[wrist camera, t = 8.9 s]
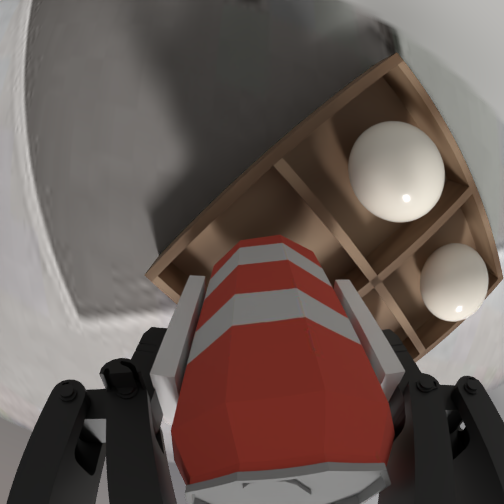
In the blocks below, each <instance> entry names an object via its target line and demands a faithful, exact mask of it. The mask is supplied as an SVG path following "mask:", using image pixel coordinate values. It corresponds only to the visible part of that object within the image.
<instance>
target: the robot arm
mask: <svg viewBox="0 0 504 504" xmlns="http://www.w3.org/2000/svg"><path fill="white" fill-rule="evenodd" d="M334 291H335V293H336V295H337V297H338V299H339V301H340V303H341V305H342V307H343V309H344V310H345V312H346V314H347V316H348V318H349V320H350V322H351V324H352V326H353V328H354V330H355V332H356V334H357V336H358V338H359V340H360V343H361V345H362V347H363V349H364V351H365V353H366V355H367V357H368V359H369V361H370V363H371V366H372V368H373V370H374V372H375V374H376V376H377V378H378V381H379V383H380V385H381V387H382V390H383V392H384V394H385V396H386V399H387V401H388V403H389V407H390V411H391V416H392V421H393V426H394V431H395V436H394V440H393V444H392V448H391V452H390V456H389V459H388V463H387V466H386V469H387V472H388V475H389V478H390V482H391V485H390V486H388V487H387V488H385V489H384V490H383V491H381V492H380V493H379V499H378V504H504V422H503V420H502V419H501V417H500V415H499V413H498V411H497V409H496V408H495V406H494V404H493V402H492V401H491V399H490V397H489V395H488V394H487V392H486V390H485V389H484V387H483V385H482V384H481V383H480V382H479V380H477V379H476V378H474V377H471V376H463V377H461V378H460V379H459V380H458V382H457V383H456V385H455V386H454V385H439V382H438V381H437V380H436V379H435V378H434V377H432V376H430V375H429V374H424V373H421V372H420V370H419V368H418V367H417V365H416V363H415V362H414V360H413V358H412V357H411V355H410V354H409V352H407V349H406V347H405V346H404V345H403V343H402V341H401V340H400V338H399V337H398V335H396V334H395V333H394V332H393V331H391V330H390V329H385V330H381V329H380V327H379V326H378V324H377V322H376V321H375V319H374V317H373V316H372V314H371V313H370V311H369V309H368V308H367V306H366V305H365V303H364V302H363V300H362V298H361V297H360V295H359V294H358V292H357V291H356V289H355V288H354V286H353V285H352V283H351V282H350V280H335V284H334ZM205 295H206V282H205V276H193V275H190V276H189V278H188V281H187V283H186V285H185V288H184V290H183V292H182V295H181V297H180V299H179V302H178V304H177V307H176V309H175V311H174V314H173V316H172V319H171V321H170V323H169V326H168V328H156V327H151V328H150V329H149V330H148V331H146V332H145V333H144V334H143V336H142V338H141V340H140V342H139V344H138V346H137V348H136V352H134V354H133V356H132V359H131V360H130V359H125V358H119V359H114V360H112V361H110V362H108V363H106V364H105V365H104V366H103V367H102V368H101V371H100V377H101V379H102V381H103V383H104V386H105V388H106V389H96V390H86V389H85V387H84V386H83V385H82V384H81V383H80V382H78V381H76V380H65V381H62V382H60V383H59V384H57V385H56V386H55V387H54V389H53V390H52V392H51V394H50V396H49V398H48V400H47V402H46V404H45V406H44V408H43V410H42V412H41V414H40V416H39V419H38V421H37V423H36V425H35V427H34V430H33V432H32V434H31V436H30V439H29V441H28V444H27V446H26V449H25V451H24V453H23V456H22V459H21V461H20V464H19V467H18V469H17V472H16V475H15V478H14V481H13V484H12V487H11V490H10V493H9V497H8V500H7V504H95V502H96V497H97V492H98V487H99V483H100V478H101V474H102V469H103V465H104V461H105V457H106V463H107V480H108V492H109V502H110V504H177V502H176V498H175V494H174V489H173V485H172V481H171V476H170V472H169V466H168V461H167V456H166V451H165V445H164V439H163V433H162V430H161V427H160V425H161V421H162V417H163V418H164V421H165V424H173V420H174V415H175V411H176V407H177V403H178V398H179V394H180V390H181V386H182V382H183V378H184V374H185V370H186V366H187V362H188V358H189V354H190V351H191V347H192V343H193V339H194V335H195V332H196V328H197V324H198V320H199V317H200V313H201V309H202V306H203V302H204V299H205ZM462 422H464V423H465V426H466V427H465V429H464V430H462V429H461V428H460V425H461V423H462Z"/></svg>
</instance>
